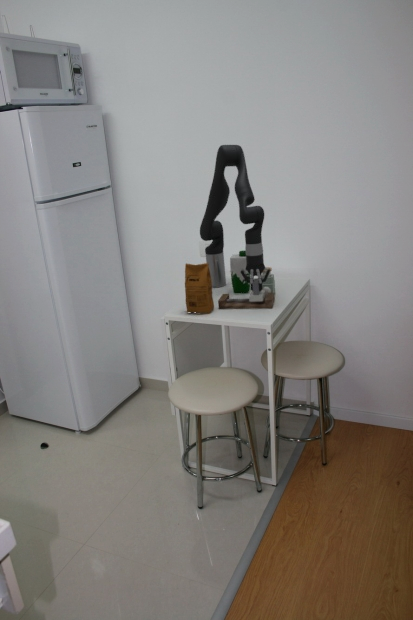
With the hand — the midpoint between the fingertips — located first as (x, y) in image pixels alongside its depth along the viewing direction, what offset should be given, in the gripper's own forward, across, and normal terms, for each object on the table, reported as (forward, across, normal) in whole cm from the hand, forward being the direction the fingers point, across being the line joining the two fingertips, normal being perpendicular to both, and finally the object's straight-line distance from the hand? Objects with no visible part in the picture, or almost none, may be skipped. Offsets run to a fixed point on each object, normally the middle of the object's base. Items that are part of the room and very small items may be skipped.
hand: (256, 290), depth 223 cm
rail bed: (+7, -5, 0) cm, 8 cm away
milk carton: (+7, -11, +21) cm, 25 cm away
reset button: (-3, +3, +12) cm, 13 cm away
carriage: (+4, 0, 0) cm, 4 cm away
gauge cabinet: (+7, +3, +12) cm, 14 cm away
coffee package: (+7, -25, -7) cm, 27 cm away
